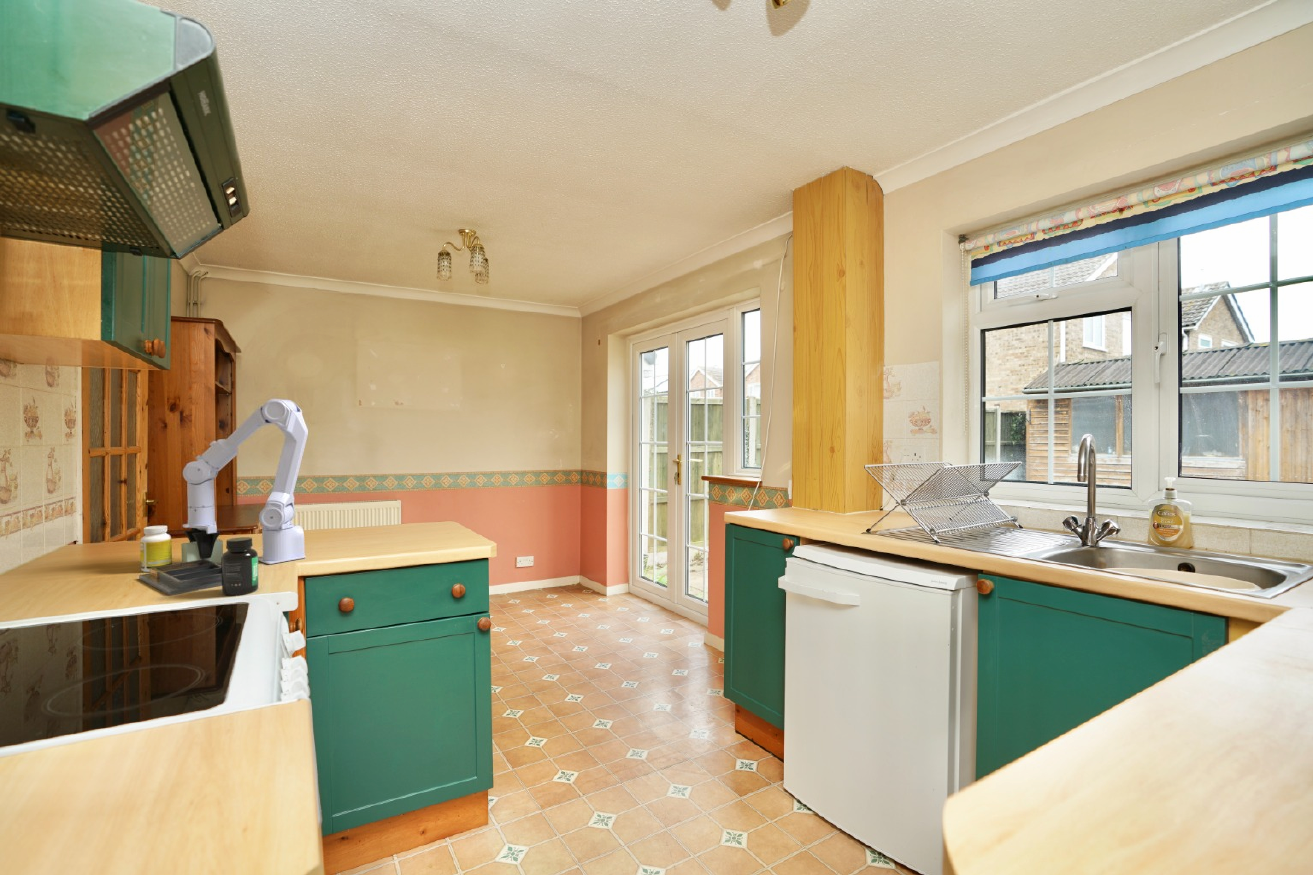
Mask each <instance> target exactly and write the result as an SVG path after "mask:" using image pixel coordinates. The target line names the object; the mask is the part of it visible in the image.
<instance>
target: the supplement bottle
mask: <svg viewBox="0 0 1313 875" xmlns="http://www.w3.org/2000/svg"><path fill="white" fill-rule="evenodd" d="M225 542H226V546H225V549H227V551H225V552H223V555H222V557H221V563H220V565H221V572H222V586H221V593H222V594H223V595H224V596H229V597H234V596H236V595H237V596H243V595H244V596H245V595H248V594H252V593H255V592H257V591H258V590H259V582H260V581H259V561H258V558H259V554H258V551H257V550H256V549H254V548H252V547H253V546H254V545H253V537H249V536H243V537H242V536H241V537H233V538H228V539H226V541H225Z"/></svg>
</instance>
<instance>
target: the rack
mask: <svg viewBox="0 0 1313 875" xmlns="http://www.w3.org/2000/svg"><path fill="white" fill-rule="evenodd" d="M138 579H139V580H140V581H142V582H144V583H146V584H148V585H149V586H151V587H153V588H155V589H157V590H159V591H161V592H162V593H163V594H166V595H167V596H174V595H179V594H181V595H182V594H185V592H186V593H190V591H191V592H196V591H200V590H199V589H201V590H206V589H211V588H212V589H213V588H215V587H222V572H221V564H219V563H217V564H216V563H213V562H211V561H208V560H206V559H202V560H195V561H189V562H183V563H182V562H178V563H172V564H171V565H165V566H158V567H152V568H150V572H148V573H143V574H138ZM195 590H196V591H195Z"/></svg>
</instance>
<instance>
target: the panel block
mask: <svg viewBox="0 0 1313 875" xmlns="http://www.w3.org/2000/svg"><path fill="white" fill-rule="evenodd" d="M180 546H181V547H180V548H181V563H183V562H189V561H195V560H202V559H201V558H200V555H199V549H198V545H197V542H190V541H189V542H183V543H181V545H180ZM223 554H224V540H223V539H220V538H217V539H216V541H215V544H214V548H213V552H212V556H211V558H206V560H208V561H211V562H213V563H216V564H221V557H222V555H223Z"/></svg>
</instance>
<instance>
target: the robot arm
mask: <svg viewBox="0 0 1313 875" xmlns="http://www.w3.org/2000/svg"><path fill="white" fill-rule="evenodd" d="M270 425H274V426H276V427H278V429H279V430H280V431H281V432H282V433H283V435H284V436H285V437H284V440H283V441H284V443H283V446H282V450H281V454H280V458H279V462H278V466H277V470H276V473H275V474H276V475H275V478H274V481H273V482H274V483H273V486H272V489H271V490H272V491H271V493H270V495H269V497H268V498H267V500H266V503H265V506H264V507H263V508H262V510H260V512H259V515H258V520H259V523H260V525H261V526H262V527H261V529H262V530H261V532H262V533H261V534H262V537H261V540H262V557H258V562H261V563H265V564H267V565H272V564H273V565H274V564H279V563H284V562H285V563H286V562H289V561H294V560H300V559H301V560H302V559H305V558H307V556H306V555H305V552H306V551H305V533H304V529H303V527H302V526H301V525H299V524H298V525H294V524H293V521H292V520H293V519H294V517H295V514H296V509H295V506H294V505H295V499H296V498H295V495H294V493H295V487H296V484H297V480H298V476H299V472H300V467H301V464H302V461H303V460H302V459H303V455H304V453H305V448H306V444H307V439H308V435H309V429H308V426H307V424H306V422H305V419H304V416H303V410H302V409H301V408H300V407H299V405H297V403H296V402H294V401H293V400H291V399H279V398H271V399H269V400H267V401H265V402H264V403H263V405H261V406H259V407H258V408H256V409H255V410H254V411H253V412H252V413H251V414H250V415H249V416H248V417H247V418H246V420H244V422H242V424H240V425H239V426H238V427H237V428H236V429H235V430H234V431H233V432H232V433H231V434H230V435H229V436H228V437H227V438H223V439H221V438H219V439H217V440H213V441H211V442H210V443H209V446H210V447H209V448H207V449H206V450H205V451H204V452H203V453H202V454H201V455H200V454H199V455H197V456H196V457H195V459H196V460H195V461H190V462H188V463H186V465H185V466H184V467H183V470H182V476H183V479H184V480H185V481H186V482H187V483H186V484H187V485H186V486H187V490H186V491H187V523H183V524H182V528H185V529H187V528H189V530H188V529H187V530H184V531H183V532H184V534H185V536H186V537H187V539H188V541H189V542H197V545H198V549H199V555H200V558H201V559H206V558H211V556H212V552H213V548H214V544H215V541H216V539H218V537H219V535H220V534H221V531H219V530H218V528H217V526H218V525H217V522H216V506H215V505H216V504H215V500H216V499H215V482H214V481H215V479H216V478H217V476H218V474H219V471H221V470H222V469H223V468H224V467H225V466H226V465H227V464H229V462H230V461H231V460H233V459H234V458H235V457H236V456H238V454H239V447H240V446H241V445H242V444H243V443H245V442H246V441H247V440H248V439H249V438H250V437H252V435H254V434H255V433H256V432H257V431H259V430H260V429H261V428H262V427H265V426H270Z"/></svg>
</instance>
